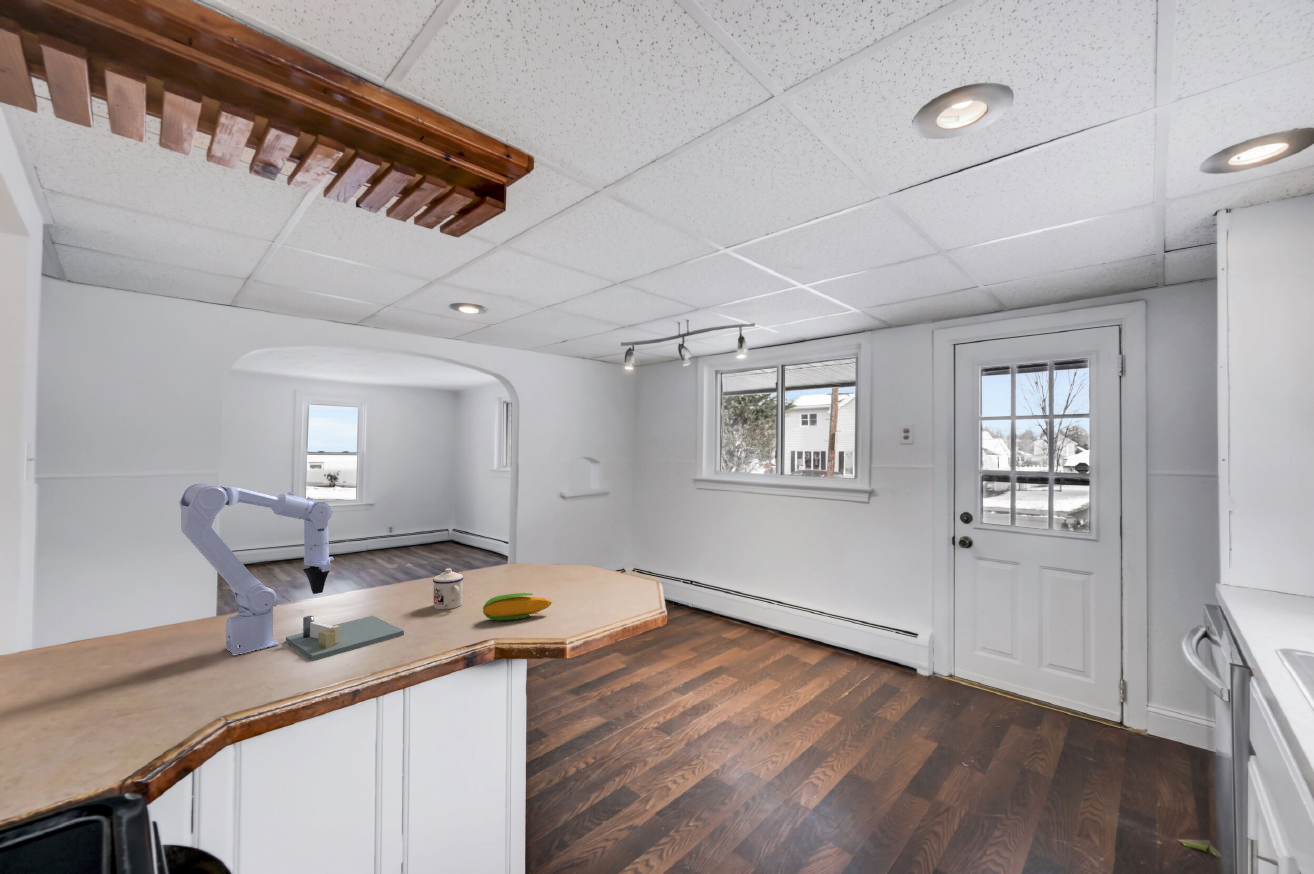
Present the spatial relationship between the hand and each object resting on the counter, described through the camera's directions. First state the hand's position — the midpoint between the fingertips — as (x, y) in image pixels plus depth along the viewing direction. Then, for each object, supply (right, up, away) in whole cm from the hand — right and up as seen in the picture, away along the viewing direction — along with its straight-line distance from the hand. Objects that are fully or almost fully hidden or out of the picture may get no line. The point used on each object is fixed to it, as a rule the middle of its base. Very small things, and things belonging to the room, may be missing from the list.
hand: (317, 592), depth 150 cm
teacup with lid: (+29, -11, +21) cm, 37 cm away
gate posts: (+7, -9, -11) cm, 16 cm away
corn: (+53, -11, +11) cm, 55 cm away
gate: (+9, -9, -11) cm, 16 cm away
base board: (+11, -10, -6) cm, 16 cm away
